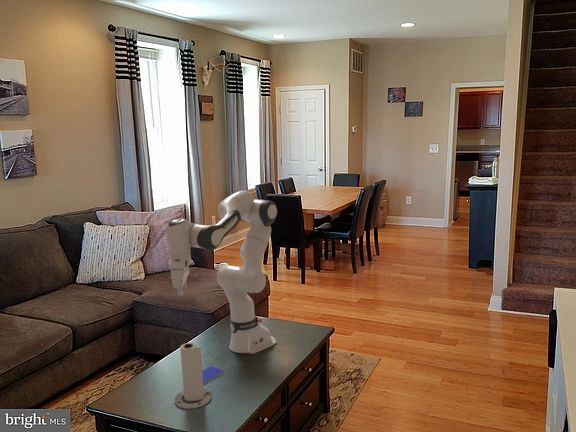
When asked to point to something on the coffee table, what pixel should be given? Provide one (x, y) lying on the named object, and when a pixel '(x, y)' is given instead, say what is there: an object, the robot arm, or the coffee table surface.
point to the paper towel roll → (192, 372)
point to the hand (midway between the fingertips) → (182, 291)
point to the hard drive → (211, 374)
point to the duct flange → (186, 404)
